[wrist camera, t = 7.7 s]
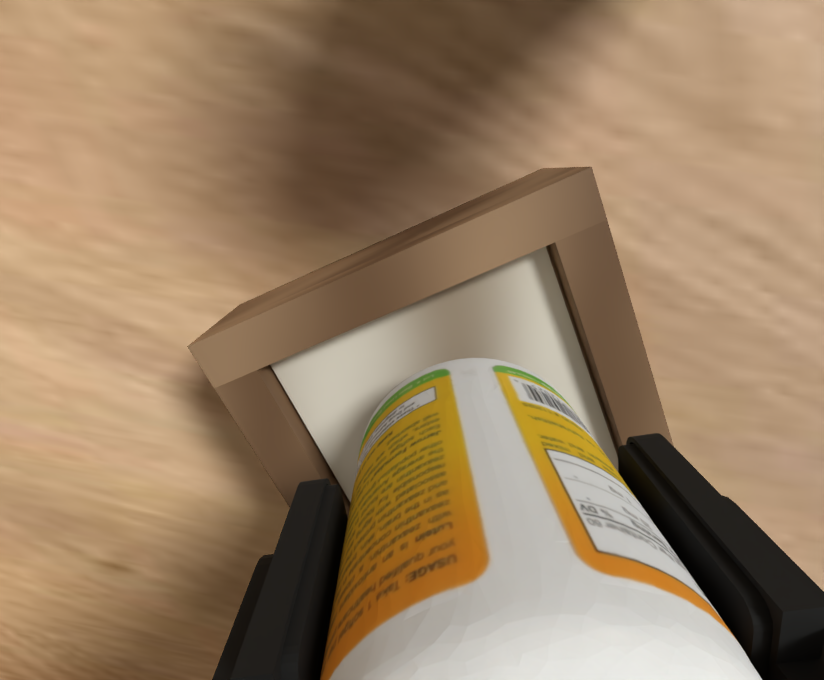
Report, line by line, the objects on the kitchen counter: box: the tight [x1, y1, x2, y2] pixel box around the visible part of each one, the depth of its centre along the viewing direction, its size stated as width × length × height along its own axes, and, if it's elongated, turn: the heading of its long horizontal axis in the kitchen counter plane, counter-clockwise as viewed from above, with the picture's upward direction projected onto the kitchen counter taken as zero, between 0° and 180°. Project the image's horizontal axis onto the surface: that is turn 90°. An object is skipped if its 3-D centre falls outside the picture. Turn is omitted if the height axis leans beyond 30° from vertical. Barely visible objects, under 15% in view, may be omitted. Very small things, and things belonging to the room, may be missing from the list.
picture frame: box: [187, 167, 674, 517], centre depth 14 cm, size 10×10×4 cm
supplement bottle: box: [320, 358, 762, 680], centre depth 7 cm, size 5×5×10 cm
